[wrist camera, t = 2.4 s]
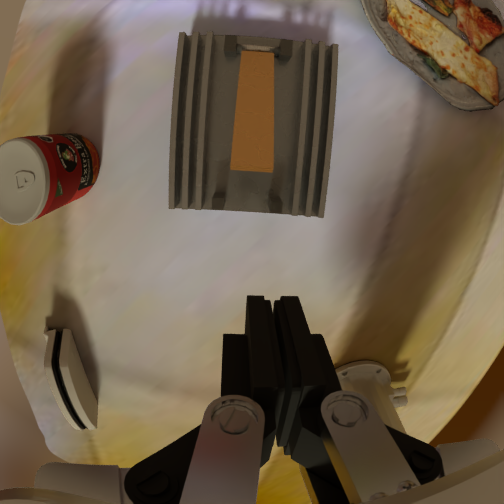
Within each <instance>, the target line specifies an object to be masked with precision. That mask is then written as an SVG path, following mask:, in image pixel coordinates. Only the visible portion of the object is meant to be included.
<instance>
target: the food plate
mask: <svg viewBox="0 0 504 504" xmlns="http://www.w3.org/2000/svg"><path fill="white" fill-rule="evenodd" d="M361 1H362V6H363V7H364V8H363V9H364V10H365V14H366V16H367V18H368V20H369V22H370V24H371V25H372V27H373V29H374V31H375V32H376V34H377V36H378V37H379V38H380V40H381V41H382V42H383V44H384V45H385V47H386V49H387V50H388V52H389V53H390V55H393V56H394V57H395V58H396V59H398V60H399V61H400V62H402V63H403V64H404V65H405V66H407V67H408V68H409V69H411V70H412V71H413V72H414V73H415V74H416V75H418V76H419V77H420V78H421V79H422V80H423V81H425V82H426V83H427V84H428V85H430V86H431V87H432V88H433V89H434V90H435V91H436V92H438V93H439V94H440V95H441V96H442V97H443V98H444V99H445V100H446V101H447V102H448V101H449V102H448V103H449V104H451V105H453V106H454V107H457V108H458V109H460V110H464V111H478V110H486V109H488V110H489V109H493V107H495V106H498V104H499V103H500V102H501V101H503V100H504V20H503V18H502V16H501V13H500V11H499V10H498V8H497V7H496V6H495V4H494V3H493V1H492V0H421V1H422V3H423V4H424V5H425V7H426V8H427V12H426V11H425V9H422V8H421V7H419V6H417V5H416V4H414V3H412V2H411V1H410V0H361ZM429 7H430V8H429ZM444 19H445V20H444ZM449 25H450V26H449ZM462 35H464V37H465V38H466V39H465V40H464V39H463V38H462Z"/></svg>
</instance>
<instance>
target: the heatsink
mask: <svg viewBox="0 0 504 504" xmlns="http://www.w3.org/2000/svg"><path fill="white" fill-rule="evenodd" d="M242 51H256V52H269V53H274V168H273V172H272V173H270V172H256V171H240V170H230V164H231V152H232V141H233V130H234V120H235V110H236V100H237V90H238V80H239V71H240V62H241V53H242ZM337 67H338V44H332V45H331V46H325V42H322V41H319V42H318V44H313V43H312V40H310V39H306V40H305V41H304V42H299V41H293V40H286V39H275V38H264V37H250V36H235V35H214V34H213V32H207V35H200V33H199V32H193V36H187V35H186V33H185V32H179V39H178V48H177V56H176V66H175V76H174V88H173V101H172V116H171V134H170V158H169V209H175V208H182V209H195V210H201V209H208V210H228V211H246V212H262V213H277V214H291V215H293V216H297V215H304V216H306V217H311V216H317V217H319V218H324V210H325V203H326V195H327V186H328V178H329V169H330V159H331V149H332V139H333V127H334V115H335V101H336V86H337Z"/></svg>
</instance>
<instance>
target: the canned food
mask: <svg viewBox="0 0 504 504" xmlns="http://www.w3.org/2000/svg"><path fill="white" fill-rule="evenodd" d="M99 167H100V165H99V156H98V153H97V150H96V148H95V147H94V145H93V144H92V143H91V142H90V141H89V140H88V139H86V138H85V137H83V136H82V135H78V134H71V133H70V134H51V135H37V136H26V137H19V138H14V139H11V140H8V141H6V142H5V143H3V144H2V145H1V146H0V217H1V218H2V219H3V220H4V221H6V222H8V223H9V224H13V225H23V224H26V223H29V222H31V221H33V220H35V219H38V218H40V217H41V216H43V215H45V214H47V213H49V212H51V211H53V210H55V209H57V208H59V207H61V206H64V205H66V204H68V203H70V202H72V201H74V200H76V199H78V198H80V197H82V196H84V195H85V194H86V193H87V192H88V191H89V190H90V189H91V188H92V186H93V185H94V183H95V181H96V179H97V177H98V173H99Z"/></svg>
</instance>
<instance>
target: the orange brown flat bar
mask: <svg viewBox="0 0 504 504" xmlns="http://www.w3.org/2000/svg"><path fill="white" fill-rule="evenodd" d="M273 168H274V53H269V52H256V51H242V53H241V62H240V71H239V80H238V90H237V100H236V110H235V120H234V130H233V141H232V152H231V164H230V170H240V171H256V172H270V173H272V172H273Z"/></svg>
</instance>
